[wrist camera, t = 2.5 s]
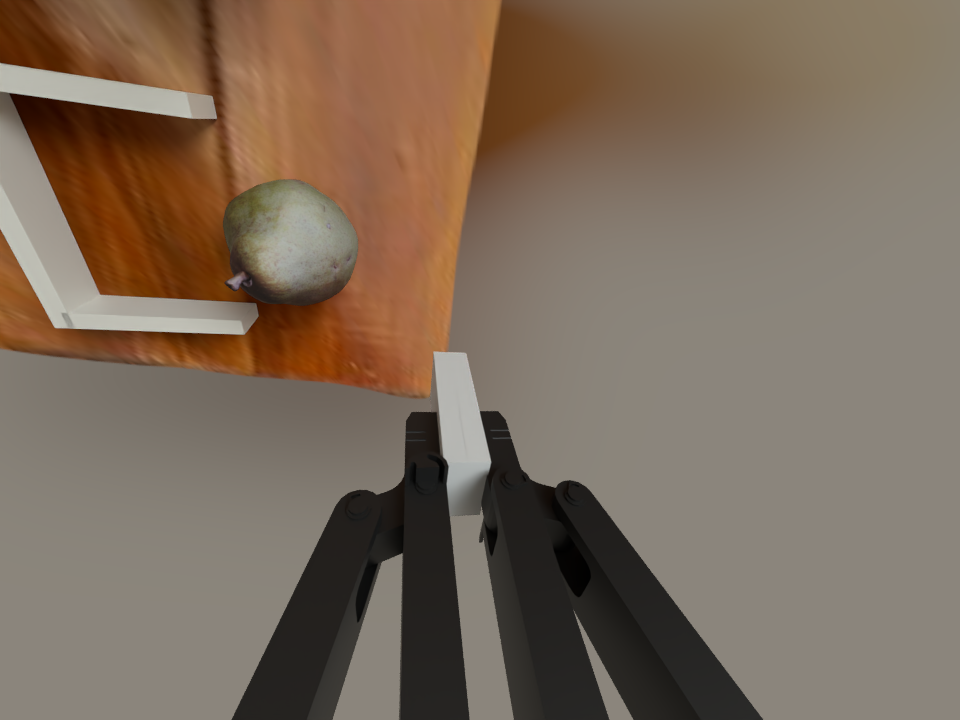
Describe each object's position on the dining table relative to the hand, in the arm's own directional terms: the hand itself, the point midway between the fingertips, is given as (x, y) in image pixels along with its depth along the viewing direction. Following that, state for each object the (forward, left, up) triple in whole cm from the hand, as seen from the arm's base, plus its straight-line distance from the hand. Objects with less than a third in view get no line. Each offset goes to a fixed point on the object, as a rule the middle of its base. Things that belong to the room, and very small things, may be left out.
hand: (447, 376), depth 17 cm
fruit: (-11, 0, -24) cm, 26 cm away
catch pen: (-24, 0, -24) cm, 34 cm away
